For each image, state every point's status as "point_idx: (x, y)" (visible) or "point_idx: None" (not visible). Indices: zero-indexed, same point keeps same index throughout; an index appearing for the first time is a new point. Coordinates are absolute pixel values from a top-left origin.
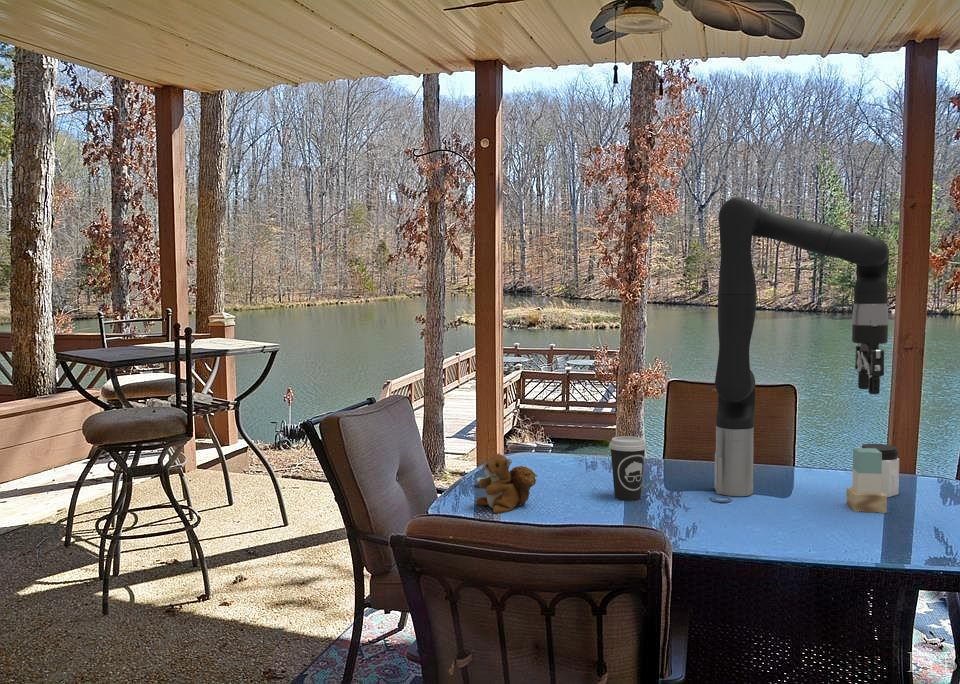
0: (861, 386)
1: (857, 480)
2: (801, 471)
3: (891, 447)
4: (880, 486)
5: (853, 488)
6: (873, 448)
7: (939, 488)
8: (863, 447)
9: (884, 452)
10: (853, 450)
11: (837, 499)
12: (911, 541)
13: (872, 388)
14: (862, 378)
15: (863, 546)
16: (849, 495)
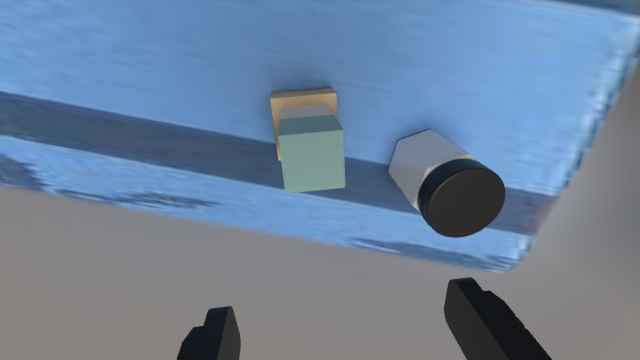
0: (456, 299)
1: (288, 113)
2: (604, 31)
3: (457, 227)
4: None
5: (318, 104)
6: (343, 182)
7: (452, 251)
8: (465, 168)
9: (425, 206)
10: (337, 128)
11: (361, 74)
12: (107, 154)
13: (181, 352)
14: (491, 356)
15: (20, 65)
16: (310, 93)
